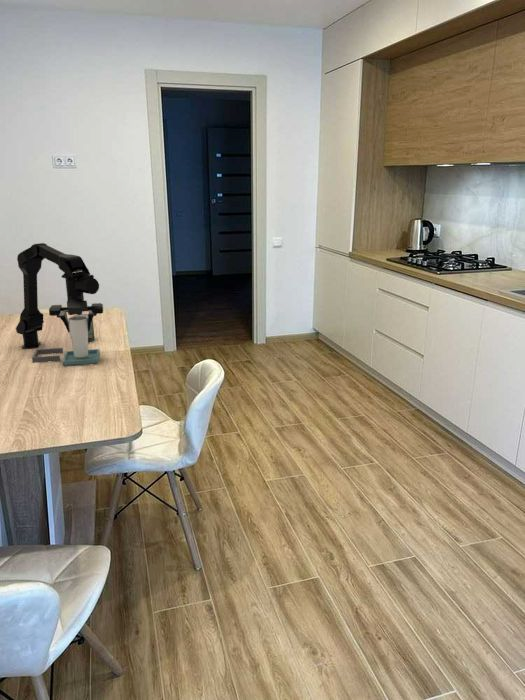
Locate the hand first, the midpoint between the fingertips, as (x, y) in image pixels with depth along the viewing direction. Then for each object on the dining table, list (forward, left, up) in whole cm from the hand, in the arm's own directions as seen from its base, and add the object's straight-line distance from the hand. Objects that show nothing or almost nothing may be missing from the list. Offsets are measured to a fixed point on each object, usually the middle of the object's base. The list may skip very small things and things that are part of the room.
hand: (78, 331), depth 195 cm
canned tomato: (-26, 0, -12) cm, 28 cm away
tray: (0, 0, -11) cm, 11 cm away
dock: (-6, -12, -11) cm, 18 cm away
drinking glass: (0, 0, -10) cm, 10 cm away
